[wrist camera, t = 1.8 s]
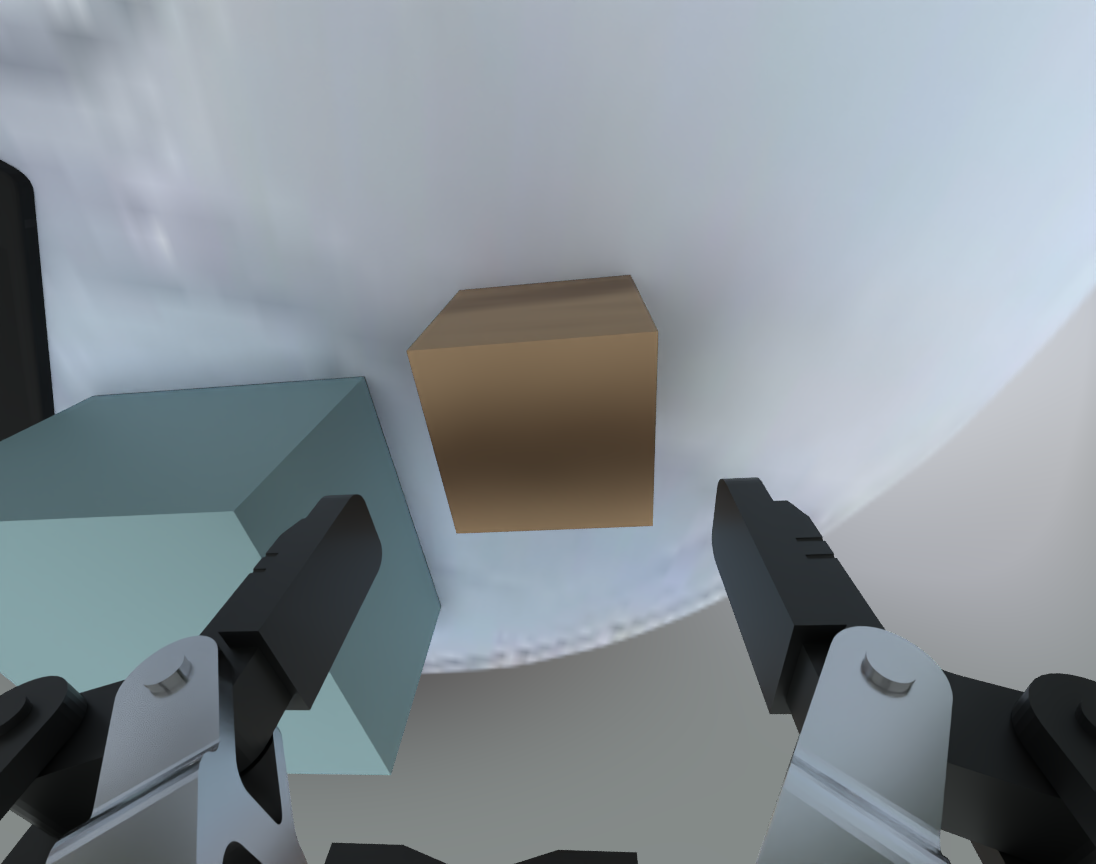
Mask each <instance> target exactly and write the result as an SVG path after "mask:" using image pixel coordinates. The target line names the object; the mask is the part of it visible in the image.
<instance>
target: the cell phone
mask: <svg viewBox="0 0 1096 864" xmlns="http://www.w3.org/2000/svg"><path fill="white" fill-rule="evenodd" d="M53 415H55V414H54V403H53V393H52V382H51V371H50V361H49V350H48V340H47V329H46V318H45V308H44V297H43V287H42V276H41V265H40V255H39V244H38V233H37V223H36V212H35V202H34V192H33V187H32V185H31V183H30V181H29V180H28V178H27V177H26V176H25V175H24V174H23V173H21V172H20V171H19V170H17V169H16V168H14V167H12V166H10V165H9V164H7V163H5V162H3V161H2V160H0V441H2V440H4V439H6V438H8V437H11V436H13V435H15V434H17V433H19V432H21V431H23V430H25V429H27V428H29V427H31V426H33V425H35V424H37V423H39V422H41V421H43V420H45V419H47V418H49V417H51V416H53Z"/></svg>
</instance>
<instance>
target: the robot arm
mask: <svg viewBox="0 0 1096 864" xmlns="http://www.w3.org/2000/svg"><path fill="white" fill-rule="evenodd" d="M712 546H713V553H714V558H715V561H716V564H717V567H718V570H719V573H720V576H721V578H722V581H723V584H724V587H725V590H726V592H727V595H728V598H729V601H730V604H731V606H732V609H733V612H734V615H735V618H736V620H737V623H738V626H739V629H740V632H741V634H742V637H743V640H744V643H745V646H746V648H747V651H748V654H749V657H750V660H751V662H752V665H753V668H754V671H755V674H756V676H757V679H758V682H759V685H760V688H761V690H762V693H763V696H764V699H765V702H766V704H767V707H768V710H769V713H770V714H792V717H793V719H794V722H795V725H796V727H797V729H798V732H799V737H798V740H797V743H796V746H795V749H794V752H793V755H792V758H791V761H790V764H789V767H788V770H787V772H786V776H785V778H784V781H783V784H782V787H781V790H780V793H779V796H778V799H777V802H776V805H775V808H774V811H773V814H772V817H771V820H770V822H769V825H768V828H767V831H766V834H765V837H764V840H763V843H762V846H761V849H760V852H759V855H758V858H757V861H756V864H951V863H950V861H949V860H948V858H946V857H945V856H943V855H942V853H941V849H940V831H941V830H944V831H947V832H950V833H952V834H955V835H958V836H960V837H963V838H966V839H969V840H970V841H971V843H972V844H973V847H974V848H975V850H976V852H977V854H978V856H979V857H980V859H981V861H982V863H983V864H1096V682H1095V681H1092V680H1089V679H1086V678H1082V677H1078V676H1074V675H1068V674H1060V673H1059V674H1058V673H1056V674H1046V675H1041V676H1040V677H1038V678H1036V679H1034V681H1033V682H1032V683H1031V684H1030V685H1029V687H1028V688H1027V689H1026V691H1025V692H1021V691H1017V690H1014V689H1009V688H1006V687H1002V686H998V685H994V684H990V683H986V682H983V681H979V680H975V679H971V678H967V677H963V676H960V675H956V674H953V673H950V672H947V671H944V670H942V669H941V668H940V667H939V666H938V665H937V663H936V662H935V661H934V660H933V659H932V658H931V657H930V656H929V655H927V654H926V653H925V652H924V651H923V650H921V649H920V648H918V646H916V645H915V644H913V643H911V642H910V641H908V640H907V639H905V638H902V637H901V636H899V635H897V634H894V633H892V632H889V631H886V630H885V629H884V627H883V626H882V625H881V623H880V622H879V620H878V619H877V617H876V616H875V614H874V613H873V611H872V610H871V608H870V607H869V605H868V604H867V602H866V601H865V599H864V598H863V596H862V595H861V593H860V592H859V590H858V589H857V588H856V586H855V585H854V583H853V581H852V580H851V578H850V577H849V576H848V574H847V573H846V571H845V570H844V568H843V567H842V565H841V564H840V562H839V561H838V559H837V558H834V553H833V552H832V550H831V549H830V547H829V546H828V544H827V543H826V541H823V539H822V535H821V534H820V532H819V531H818V529H817V528H816V526H815V525H814V523H813V522H812V520H811V519H810V518H809V516H807V515H806V514H805V513H803V512H802V511H801V510H799V509H798V508H797V507H795V506H794V505H793V504H791V503H790V502H789V501H773V500H772V498H771V497H770V495H769V493H768V491H767V490H766V488H765V486H764V485H763V483H762V482H761V480H760V479H759V478H756V477H755V478H733V479H720V480H719V482H718V486H717V494H716V503H715V511H714V520H713V529H712ZM381 561H382V546H381V542H380V539H379V536H378V534H377V531H376V529H375V526H374V523H373V521H372V518H371V515H370V513H369V510H368V507H367V505H366V502H365V500H364V498H363V497H362V496H361V495H359V494H349V495H328V496H324V497H322V498H321V499H320V500H319V502H318V503H317V504H316V505H315V507H314V508H313V509H312V511H311V512H310V513H309V514H308V516H307V517H306V518H304V519H301V520H299V521H298V522H297V523H295V524H294V525H293V526H292V527H290V528H289V529H288V530H286V531H285V532H284V533H282V534H281V535H280V536H279V537H278V539H277V540H276V541H275V542H274V544H273V545H272V546H271V547H270V548H269V550H268V551H267V552H266V556H265V557H262V558H261V560H260V561H259V562H258V563H257V565H256V566H255V567H254V568H253V573H249V574H248V576H247V577H246V578H245V579H244V581H243V582H242V583H241V584H240V586H239V587H238V588H237V589H236V591H235V592H234V593H233V594H232V595H231V597H230V598H229V599H228V600H227V602H226V603H225V604H224V605H223V607H222V608H221V609H220V610H219V612H218V613H217V614H216V615H215V616H214V618H213V619H212V620H211V621H210V623H209V624H208V625H207V626H206V628H205V629H204V630H203V631H202V633H201V634H200V635H199V636H191V637H186V638H183V639H180V640H177V641H175V642H173V643H170V644H168V645H167V646H165V647H163V648H161V649H159V650H158V651H156V652H155V653H153V654H152V655H150V656H149V657H148V658H146V659H145V660H144V661H143V662H141V663H140V664H139V665H138V666H137V667H136V668H135V669H134V670H133V671H132V672H131V673H130V674H129V675H128V677H127V678H126V679H125V680H122V681H119V682H115V683H112V684H108V685H105V686H102V687H98V688H95V689H91V690H88V691H85V692H81V693H79V692H78V691H77V690H76V689H75V688H74V687H73V686H71V685H70V684H69V683H68V682H67V681H66V680H65V679H64V678H62V677H59V676H46V677H41V678H37V679H34V680H31V681H28V682H26V683H23V684H21V685H19V686H17V687H15V688H13V689H11V690H9V691H7V692H5V693H4V694H2V695H0V820H1V819H2V818H3V816H4V815H5V814H6V813H7V812H8V811H9V810H11V811H12V812H14V813H16V814H17V815H19V816H20V817H22V818H23V819H25V820H27V821H28V822H30V823H31V824H32V825H31V827H30V828H29V829H28V830H27V832H26V833H25V834H24V835H23V837H22V838H21V839H20V841H19V842H18V843H17V844H16V846H15V847H14V848H13V850H12V851H11V852H10V853H9V855H8V856H7V857H6V859H5V860H4V861H3V862H2V863H1V864H307V861H306V858H305V856H304V853H303V851H302V849H301V847H300V845H299V842H298V839H297V836H296V832H295V827H294V821H293V814H292V806H291V799H290V792H289V784H288V777H287V769H286V762H285V755H284V747H283V740H282V734H281V731H280V729H279V727H278V726H277V725H278V723H279V721H280V719H281V717H282V715H283V713H284V712H285V710H310V709H311V707H312V705H313V703H314V701H315V699H316V697H317V695H318V693H319V691H320V689H321V687H322V685H323V683H324V681H325V679H326V677H327V675H328V673H329V671H330V669H331V667H332V665H333V663H334V661H335V659H336V657H337V655H338V653H339V650H340V648H341V646H342V644H343V642H344V640H345V638H346V636H347V634H348V632H349V630H350V628H351V626H352V624H353V622H354V620H355V618H356V616H357V614H358V612H359V610H360V608H361V606H362V604H363V602H364V600H365V598H366V596H367V594H368V591H369V589H370V587H371V585H372V583H373V581H374V579H375V577H376V575H377V573H378V571H379V569H380V566H381ZM325 864H446V863H444V862H441V861H439V860H437V859H434V858H432V857H430V856H428V855H425V854H423V853H420V852H418V851H416V850H414V849H411V848H409V847H406V846H404V845H387V844H386V845H385V844H355V843H332V845H331V847H330V850H329V853H328V856H327V858H326V861H325ZM516 864H638V861H637V853H636V852H604V851H603V852H602V851H574V850H557V851H554V852H550V853H547V854H544V855H541V856H538V857H534V858H531V859H528V860H525V861H522V862H519V863H516Z"/></svg>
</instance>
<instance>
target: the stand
mask: <svg viewBox="0 0 1096 864" xmlns="http://www.w3.org/2000/svg"><path fill="white" fill-rule="evenodd" d="M349 494H359V495H361V496H362V497H363V498H364V500H365V502H366V505H367V507H368V510H369V513H370V515H371V518H372V521H373V523H374V526H375V529H376V531H377V534H378V536H379V539H380V542H381V546H382V561H381V566H380V569H379V571H378V573H377V575H376V577H375V579H374V581H373V583H372V585H371V587H370V589H369V591H368V594H367V596H366V598H365V600H364V602H363V604H362V606H361V608H360V610H359V612H358V614H357V616H356V618H355V620H354V622H353V624H352V626H351V628H350V630H349V632H348V634H347V636H346V638H345V640H344V642H343V644H342V646H341V648H340V650H339V653H338V655H337V657H336V659H335V661H334V663H333V665H332V667H331V669H330V671H329V673H328V675H327V677H326V679H325V681H324V683H323V685H322V687H321V689H320V691H319V693H318V695H317V697H316V699H315V701H314V703H313V705H312V707H311V709H310V710H285V712H284V713H283V715H282V717H281V719H280V721H279V723H278V725H277V726H278V727H279V729H280V731H281V734H282V740H283V747H284V755H285V762H286V769H287V773H291V774H293V773H295V774H296V773H297V774H359V775H362V774H363V775H366V774H367V775H391V773H392V769H393V766H394V763H395V759H396V756H397V753H398V749H399V746H400V742H401V739H402V736H403V733H404V729H405V726H406V722H407V719H408V716H409V713H410V709H411V706H412V702H413V699H414V696H415V692H416V689H417V686H418V682H419V679H420V676H421V672H422V669H423V666H424V662H425V659H426V656H427V652H428V649H429V646H430V642H431V639H432V635H433V632H434V629H435V625H436V622H437V619H438V615H439V612H440V609H441V606H440V603H439V600H438V597H437V594H436V591H435V588H434V585H433V582H432V579H431V576H430V573H429V570H428V567H427V564H426V561H425V558H424V555H423V552H422V549H421V546H420V543H419V540H418V537H417V534H416V531H415V528H414V525H413V522H412V519H411V516H410V513H409V510H408V507H407V504H406V501H405V498H404V495H403V492H402V489H401V486H400V483H399V480H398V477H397V474H396V471H395V468H394V465H393V462H392V459H391V456H390V453H389V450H388V447H387V444H386V441H385V438H384V435H383V432H382V429H381V426H380V423H379V420H378V417H377V414H376V411H375V408H374V405H373V402H372V399H371V396H370V393H369V390H368V387H367V384H366V381H365V378H364V377H354V378H340V379H326V380H312V381H298V382H284V383H270V384H256V385H242V386H229V387H215V388H201V389H187V390H173V391H159V392H145V393H131V394H117V395H103V396H92V397H90V398H88V399H86V400H84V401H82V402H80V403H78V404H76V405H74V406H72V407H70V408H68V409H66V410H64V411H62V412H59V413H57V414H55V415H53V416H51V417H49V418H47V419H45V420H43V421H41V422H39V423H37V424H35V425H33V426H31V427H29V428H27V429H25V430H23V431H21V432H19V433H17V434H15V435H13V436H11V437H8V438H6V439H4V440H2V441H0V673H1V674H3V675H4V676H5V677H6V678H7V679H9V680H10V681H11V682H13V683H14V684H15V685H16V686H19V685H21V684H23V683H26V682H28V681H31V680H34V679H37V678H41V677H46V676H59V677H62V678H64V679H65V680H66V681H67V682H68V683H69V684H70V685H71V686H73V687H74V688H75V689H76V690H77V691H78V692H79V693H81V692H85V691H88V690H91V689H95V688H98V687H102V686H105V685H108V684H112V683H115V682H119V681H122V680H125V679H126V678H127V677H128V675H129V674H130V673H131V672H132V671H133V670H134V669H135V668H136V667H137V666H138V665H139V664H140V663H141V662H143V661H144V660H145V659H146V658H148V657H149V656H150V655H152V654H153V653H155V652H156V651H158V650H159V649H161V648H163V647H165V646H167V645H168V644H170V643H173V642H175V641H177V640H180V639H183V638H186V637H191V636H199V635H200V634H201V633H202V631H203V630H204V629H205V628H206V626H207V625H208V624H209V623H210V621H211V620H212V619H213V618H214V616H215V615H216V614H217V613H218V612H219V610H220V609H221V608H222V607H223V605H224V604H225V603H226V602H227V600H228V599H229V598H230V597H231V595H232V594H233V593H234V592H235V591H236V589H237V588H238V587H239V586H240V584H241V583H242V582H243V581H244V579H245V578H246V577H247V576H248V574H249V573H253V568H254V567H255V566H256V565H257V563H258V562H259V561H260V560H261V558H262V557H265V556H266V552H267V551H268V550H269V548H270V547H271V546H272V545H273V544H274V542H275V541H276V540H277V539H278V537H279V536H280V535H281V534H282V533H284V532H285V531H286V530H288V529H289V528H290V527H292V526H293V525H294V524H295V523H297V522H298V521H299V520H301V519H304V518H306V517H307V516H308V514H309V513H310V512H311V511H312V509H313V508H314V507H315V505H316V504H317V503H318V502H319V500H320V499H321V498H322V497H324V496H328V495H349Z"/></svg>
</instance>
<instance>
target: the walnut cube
mask: <svg viewBox="0 0 1096 864" xmlns="http://www.w3.org/2000/svg"><path fill="white" fill-rule="evenodd" d="M407 354H408V358H409V362H410V365H411V369H412V373H413V376H414V380H415V384H416V387H417V391H418V394H419V398H420V402H421V405H422V409H423V413H424V416H425V420H426V424H427V427H428V431H429V435H430V438H431V442H432V445H433V449H434V453H435V456H436V460H437V464H438V467H439V471H440V475H441V478H442V482H443V486H444V489H445V493H446V496H447V500H448V504H449V507H450V511H451V515H452V518H453V522H454V526H455V529H456V533H482V532H508V531H533V530H559V529H585V528H610V527H636V526H653V495H654V460H655V425H656V390H657V354H658V330H657V328H656V326H655V324H654V322H653V320H652V318H651V316H650V314H649V312H648V310H647V308H646V306H645V304H644V302H643V300H642V297H641V295H640V293H639V291H638V289H637V287H636V285H635V283H634V281H633V279H632V277H631V275H623V276H612V277H601V278H590V279H579V280H568V281H557V282H545V283H534V284H523V285H512V286H501V287H490V288H479V289H468V290H459V291H458V293H457V294H456V295H455V296H454V297H453V298H452V300H451V301H450V302H449V303H448V304H447V305H446V306H445V308H444V309H443V310H442V311H441V312H440V313H439V314H438V316H437V317H436V318H435V319H434V320H433V321H432V322H431V324H430V325H429V326H428V327H427V328H426V329H425V330H424V332H423V333H422V334H421V335H420V336H419V337H418V339H417V340H416V341H415V342H414V343H413V344H412V345H411V347H410V348H409V349H408V350H407Z"/></svg>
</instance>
